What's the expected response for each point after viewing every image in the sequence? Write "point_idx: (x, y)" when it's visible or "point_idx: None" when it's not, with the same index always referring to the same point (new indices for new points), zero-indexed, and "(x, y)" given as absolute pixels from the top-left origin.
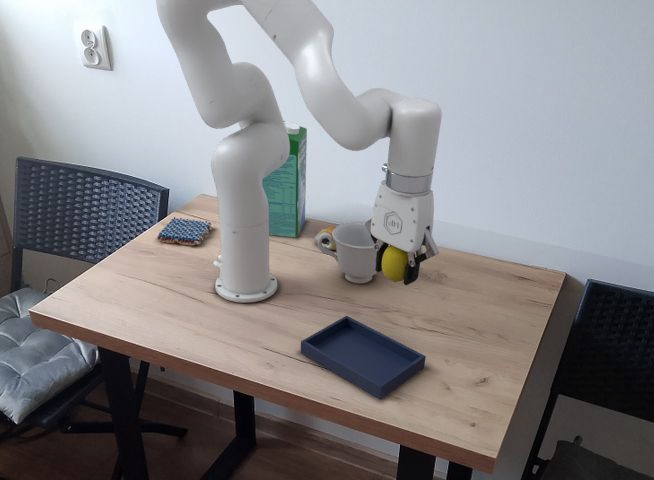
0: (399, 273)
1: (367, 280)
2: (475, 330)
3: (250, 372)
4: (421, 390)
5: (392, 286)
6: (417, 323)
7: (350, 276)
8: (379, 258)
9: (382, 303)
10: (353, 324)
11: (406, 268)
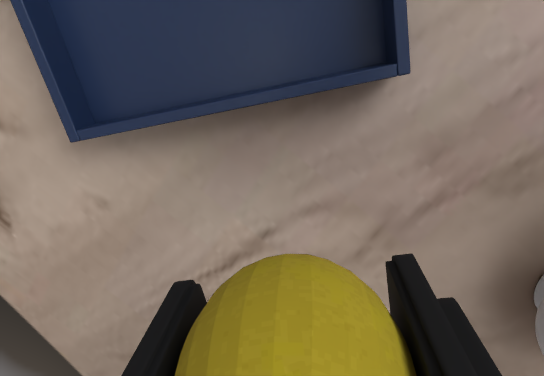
0: (201, 312)
1: (538, 292)
2: None
3: None
4: (9, 54)
5: None
6: None
7: None
8: (422, 331)
9: (417, 250)
10: (358, 70)
11: (139, 372)
